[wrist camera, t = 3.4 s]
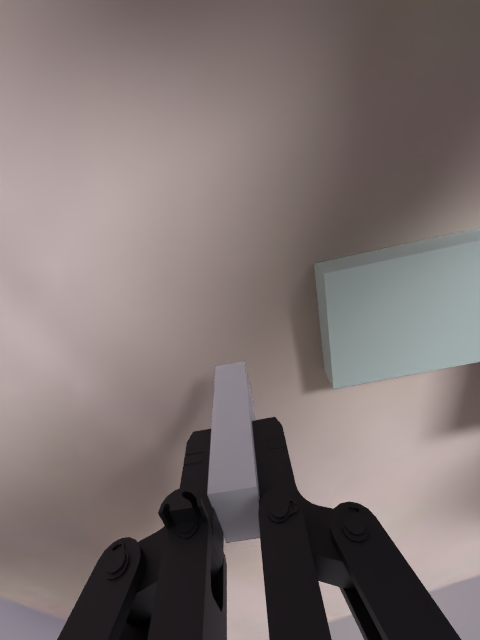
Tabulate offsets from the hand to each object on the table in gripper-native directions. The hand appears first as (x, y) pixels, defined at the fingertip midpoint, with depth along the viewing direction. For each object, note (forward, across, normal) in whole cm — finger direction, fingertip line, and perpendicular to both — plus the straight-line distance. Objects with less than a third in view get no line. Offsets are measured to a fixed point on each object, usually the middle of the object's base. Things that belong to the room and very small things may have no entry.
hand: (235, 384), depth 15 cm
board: (+5, +11, 0) cm, 12 cm away
